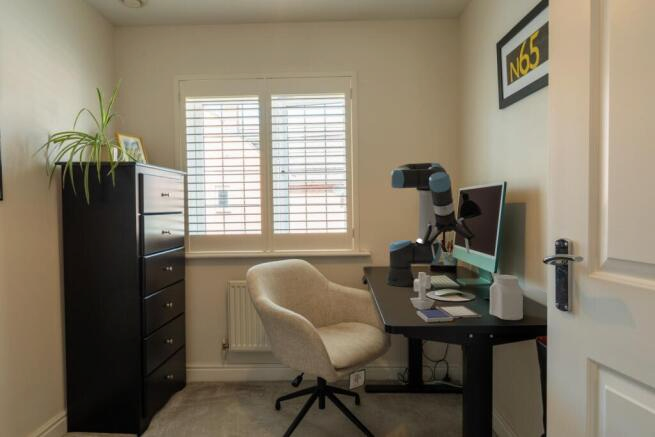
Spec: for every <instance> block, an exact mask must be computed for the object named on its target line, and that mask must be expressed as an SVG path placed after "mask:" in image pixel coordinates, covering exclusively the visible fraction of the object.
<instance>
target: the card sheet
mask: <svg viewBox="0 0 655 437" xmlns="http://www.w3.org/2000/svg"><path fill="white" fill-rule="evenodd" d="M435 309H437V310H442V311H444V312H445V313H447V314H448V315H450V316H451V317H453V319H460V318H459V317H463V318H477V317H479V318H480V317H481V318H482V316H483V315H482V314H480V313H478V312H476V311H474V310H472V309H471V308H469V307H467V306H465V305H463V304H458V305H440V306H436V307H435Z"/></svg>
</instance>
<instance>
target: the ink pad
mask: <svg viewBox="0 0 655 437" xmlns="http://www.w3.org/2000/svg"><path fill="white" fill-rule="evenodd" d="M416 314H417V315H418V316H419V317H420V318H421V319H422V320H423V321H425V322H426V323H437V322H439V321H440V322H453V321H454V318H453V317H451V316H450V315H448V314H447V313H445V312H444V311H442V310H439V309H426V310H416Z"/></svg>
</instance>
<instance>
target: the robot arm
mask: <svg viewBox="0 0 655 437" xmlns="http://www.w3.org/2000/svg"><path fill="white" fill-rule="evenodd" d="M390 176H391V177H390V178H391V181H390V182H391V183H390V184H391V188H393V189H415V190H416V191H417V192H418V194H419V195H418V196H419V198H418V199H419V200H418V237H416V238H415V242H413V241H412V240H410V239H402V240H397V241H392V242H390V244H389V251H388V252H389V268H388V269H389V270H388V274H387V276H386V282H385V283H386V284H387V285H389V286H395V287H411V286H414V280H415V279H416V278H415V276H414V274H413V270H412V265H421V266H422V265H425V266H430V265H431V266H433V265H438V264H439V262H440V259H441V254H442V244H441V243H440V242H439V240H438V238H439V236H440V235H441V234H442V233H444V234H445V233H448V232H449V233H451V232H452V231H454V232H455V233H458V234H459V235H460V236H461V237H464V241H465V247H466V248H465V250H466V253H467V255H468V254H470V253H471V252H470V247H471V246H472V239H476V234H475V232H474V231H473V229H471V227H470V226H469V225H468V224H467V223H466V221H465V219H464V217H463V216H461V217H460V218H458V219H456V218H457V217H456V213H455V212H456V211H455V205H454V199H453V191H452V180H451V177H450V175H449V173H447V171H446V170H445V167H443V166H442V165H441V164H440V163H439V162H437V163H436V162H419V163H417V162H416V163H405V164H403V165H399V166H397V167H396V168H395V169H393V170H391V175H390ZM458 224H459V225H462V227H463V228H464V229H462V228H460V227H459V226H458Z"/></svg>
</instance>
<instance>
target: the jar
mask: <svg viewBox="0 0 655 437" xmlns="http://www.w3.org/2000/svg"><path fill="white" fill-rule="evenodd" d="M523 309H524V290H523V288H522V287H521V286H520V284H519V277H518V276H516V275H512V274H495V275H494V281H493V283H492V284H491V285H490V287H489V315H490V316H491V315H492V316H494V317H497V318H499V319H501V320H507V321H519V320H522V319H523V318H524V313H523V311H524V310H523Z"/></svg>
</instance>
